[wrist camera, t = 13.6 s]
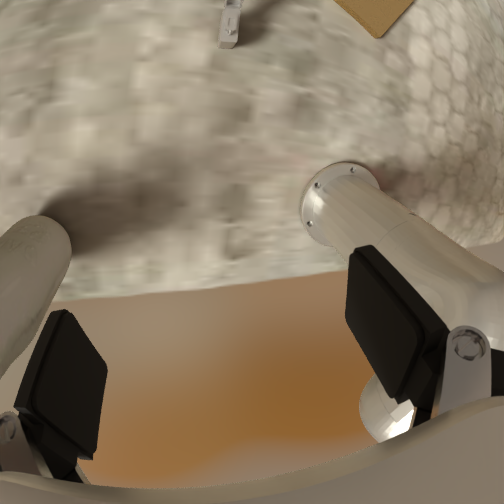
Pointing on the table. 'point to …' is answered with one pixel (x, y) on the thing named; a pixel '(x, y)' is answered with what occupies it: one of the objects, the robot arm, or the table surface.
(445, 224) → the table surface
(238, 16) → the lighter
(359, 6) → the hinge
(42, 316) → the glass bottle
